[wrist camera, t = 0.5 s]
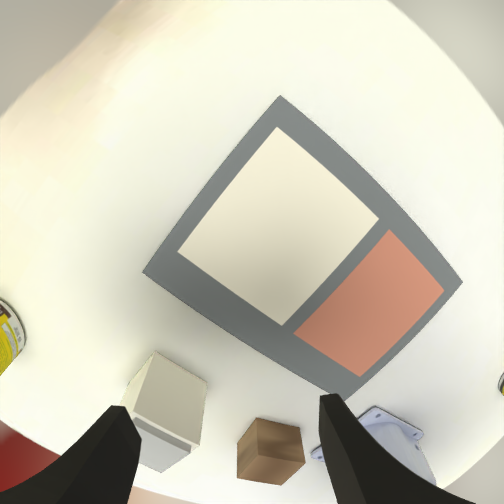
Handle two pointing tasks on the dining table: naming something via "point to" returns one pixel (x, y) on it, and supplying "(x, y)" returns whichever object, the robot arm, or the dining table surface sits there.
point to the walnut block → (269, 452)
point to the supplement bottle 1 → (9, 336)
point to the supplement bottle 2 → (501, 384)
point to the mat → (304, 256)
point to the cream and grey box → (165, 411)
